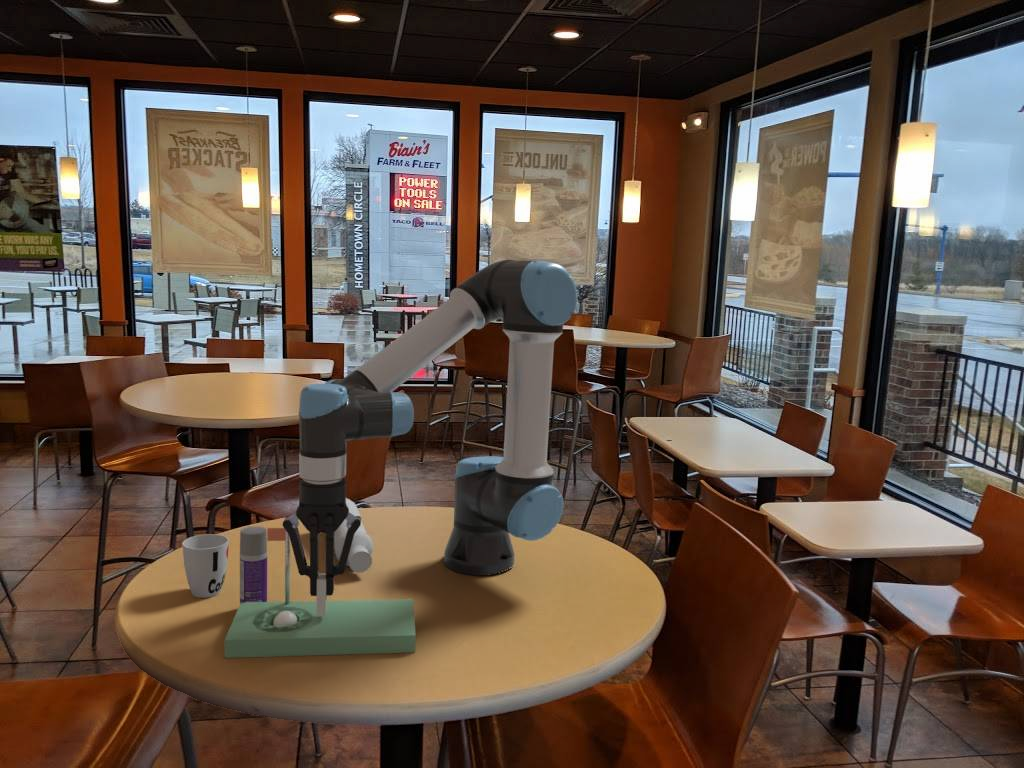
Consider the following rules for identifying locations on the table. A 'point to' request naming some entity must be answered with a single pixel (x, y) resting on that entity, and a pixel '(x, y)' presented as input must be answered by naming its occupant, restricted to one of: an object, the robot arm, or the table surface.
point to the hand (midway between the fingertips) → (321, 612)
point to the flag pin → (282, 535)
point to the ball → (285, 619)
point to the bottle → (354, 543)
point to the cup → (205, 563)
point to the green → (322, 629)
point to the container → (253, 564)
